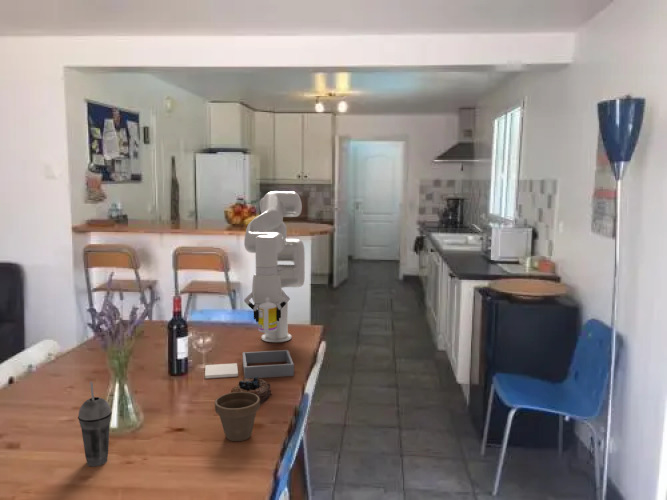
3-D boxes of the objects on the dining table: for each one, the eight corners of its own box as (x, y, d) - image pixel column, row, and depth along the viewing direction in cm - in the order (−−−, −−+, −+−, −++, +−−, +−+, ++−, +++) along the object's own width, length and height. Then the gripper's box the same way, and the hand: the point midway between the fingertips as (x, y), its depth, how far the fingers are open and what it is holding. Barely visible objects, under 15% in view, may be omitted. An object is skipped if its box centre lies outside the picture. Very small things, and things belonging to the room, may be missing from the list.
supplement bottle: (278, 328, 198) (278, 293, 196) (274, 333, 192) (274, 297, 190) (260, 327, 199) (259, 292, 197) (255, 333, 192) (255, 297, 190)
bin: (242, 363, 202) (242, 352, 202) (288, 360, 206) (287, 350, 205) (244, 378, 186) (244, 367, 186) (293, 375, 190) (293, 364, 189)
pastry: (274, 393, 175) (274, 375, 174) (260, 407, 163) (260, 388, 162) (242, 389, 177) (242, 371, 177) (226, 403, 166) (225, 384, 165)
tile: (205, 367, 197) (205, 365, 197) (237, 365, 199) (236, 363, 199) (204, 378, 186) (204, 375, 186) (238, 376, 189) (237, 373, 188)
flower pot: (217, 449, 137) (216, 410, 136) (213, 429, 148) (213, 393, 147) (263, 443, 140) (263, 405, 139) (256, 424, 151) (256, 389, 150)
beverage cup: (118, 454, 134) (114, 374, 132) (107, 469, 127) (103, 385, 125) (87, 454, 134) (83, 374, 132) (74, 469, 127) (70, 385, 125)
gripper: (290, 268, 197) (290, 316, 200) (241, 269, 194) (241, 319, 197) (293, 272, 190) (293, 322, 193) (241, 273, 187) (242, 324, 189)
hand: (267, 320), depth 195 cm, fingers closed on supplement bottle, 6 cm apart
